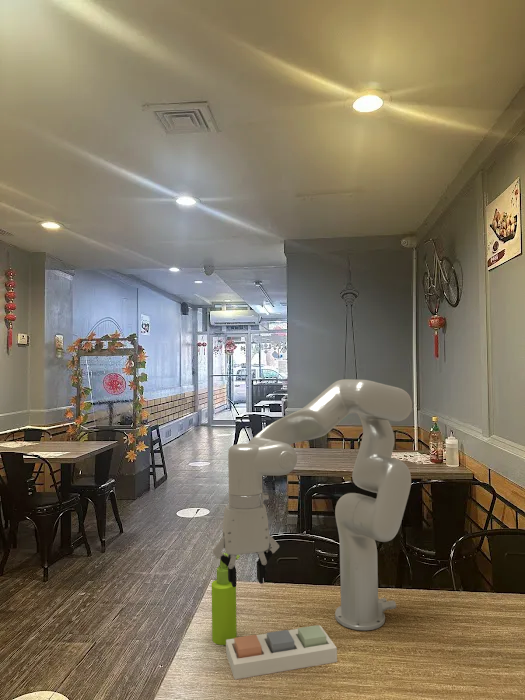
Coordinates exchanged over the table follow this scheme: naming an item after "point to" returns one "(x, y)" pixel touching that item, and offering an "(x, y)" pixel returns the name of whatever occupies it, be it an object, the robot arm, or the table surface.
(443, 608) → the table surface
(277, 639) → the slate button
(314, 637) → the sage button
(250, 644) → the terracotta button
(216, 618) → the soap dispenser
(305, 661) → the button panel
